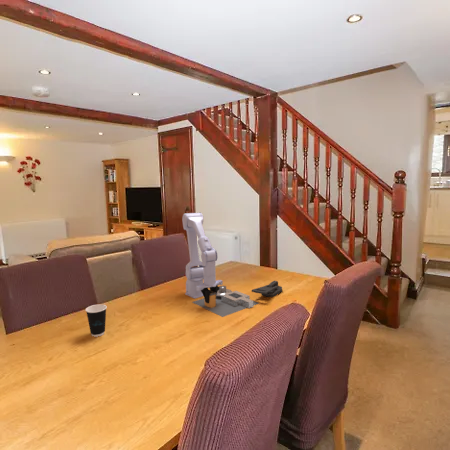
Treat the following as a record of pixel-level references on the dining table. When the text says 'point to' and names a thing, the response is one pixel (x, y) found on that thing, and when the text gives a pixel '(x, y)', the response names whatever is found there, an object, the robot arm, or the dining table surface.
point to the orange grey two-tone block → (211, 299)
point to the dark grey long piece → (269, 289)
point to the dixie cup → (96, 319)
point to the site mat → (221, 307)
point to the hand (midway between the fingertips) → (210, 301)
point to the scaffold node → (234, 297)
